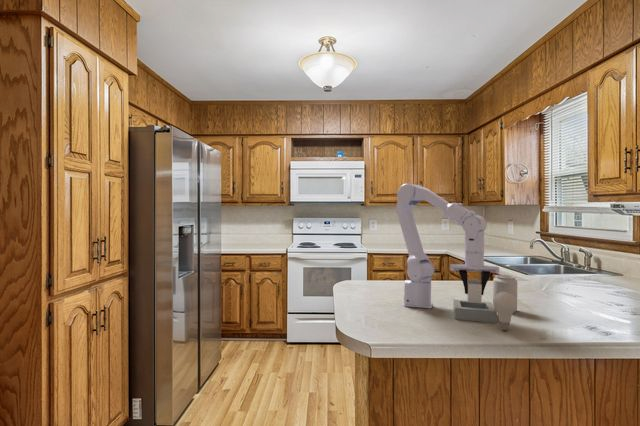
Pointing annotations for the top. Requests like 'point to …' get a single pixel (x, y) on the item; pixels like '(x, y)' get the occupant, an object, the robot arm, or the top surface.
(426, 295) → the robot arm
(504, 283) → the can
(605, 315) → the top surface
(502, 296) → the lightbulb
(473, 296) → the bracket
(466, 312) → the well block
